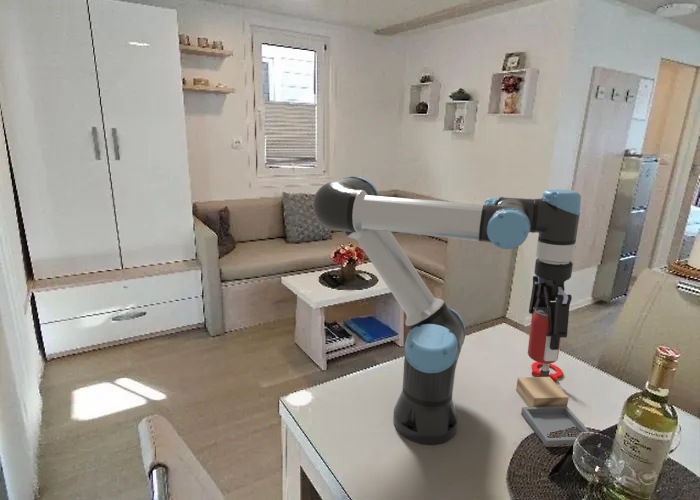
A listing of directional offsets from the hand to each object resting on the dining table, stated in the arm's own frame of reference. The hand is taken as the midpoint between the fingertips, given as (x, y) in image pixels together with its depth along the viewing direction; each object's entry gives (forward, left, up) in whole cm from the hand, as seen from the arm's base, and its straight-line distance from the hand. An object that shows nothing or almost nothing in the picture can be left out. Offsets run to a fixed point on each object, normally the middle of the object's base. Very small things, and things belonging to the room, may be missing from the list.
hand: (542, 352), depth 99 cm
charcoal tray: (+3, -5, -18) cm, 19 cm away
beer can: (0, 0, -2) cm, 2 cm away
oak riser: (+5, +6, -18) cm, 19 cm away
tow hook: (+14, +19, -18) cm, 30 cm away
